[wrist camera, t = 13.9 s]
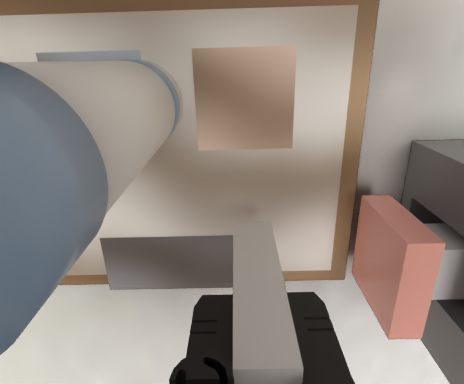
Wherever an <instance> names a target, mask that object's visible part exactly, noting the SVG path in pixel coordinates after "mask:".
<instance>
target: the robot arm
mask: <svg viewBox="0 0 464 384" xmlns="http://www.w3.org/2000/svg"><path fill="white" fill-rule="evenodd" d="M169 383H170V384H355V383H354V381H353V379H352V377H351V374H350V372H349V369H348V366H347V363H346V361H345V358H344V355H343V352H342V350H341V347H340V344H339V342H338V339H337V336H336V333H335V331H334V328H333V325H332V322H331V320H330V318H329V314H328V311H327V309H326V306H325V303H324V302H323V301H322V300H321V299H320V298H319V297H318V296H317V295H316V294H315V293H314V292H291V293H287V292H286V287H285V283H284V278H283V274H282V269H281V265H280V260H279V256H278V251H277V247H276V243H275V238H274V234H273V229H272V225H271V222H261V223H233V295H202V297H201V298H200V299H199V301H198V302H197V304H196V305H195V306H194V311H193V317H192V323H191V330H190V336H189V342H188V349H187V355H186V358H185V359H183V360H181V361H180V363H179V364H178V365H177V366H176V367H175V368H174V369H173V372H172V374H171V376H170V379H169Z"/></svg>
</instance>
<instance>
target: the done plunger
mask: <svg viewBox="0 0 464 384" xmlns="http://www.w3.org/2000/svg"><path fill="white" fill-rule="evenodd" d="M352 275H353V276H354V278H355V280H356V282H357V284H358V285H359V287H360V289H361V291H362V293H363V294H364V296H365V298H366V300H367V302H368V303H369V305H370V307H371V309H372V311H373V312H374V314H375V316H376V318H377V320H378V322H379V323H380V325H381V327H382V329H383V331H384V332H385V334H386V336H387V338H388V339H422V335H423V331H424V328H425V324H426V320H427V316H428V312H429V308H430V304H431V300H448V299H464V237H463V236H462V235H460V234H459V233H458V232H456V231H455V230H454V229H453V228H451V227H450V226H449V225H447V224H446V223H432V224H423V223H422V222H421V221H420V220H418V219H417V218H416V217H415V216H414V215H413V214H412V213H410V212H409V211H408V210H407V209H406V208H405V207H403V206H402V205H401V204H400V203H399V202H398V201H397V200H395V199H394V198H393V197H392V196H391V195H362V198H361V206H360V213H359V221H358V228H357V236H356V243H355V251H354V258H353V266H352Z"/></svg>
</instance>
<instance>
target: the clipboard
mask: <svg viewBox="0 0 464 384" xmlns="http://www.w3.org/2000/svg"><path fill="white" fill-rule="evenodd" d="M378 8H379V0H0V62H55V61H116V60H142V61H149V62H152V63H155V64H157V65H159V66H161V67H162V68H164V69H165V70H166V71H167V72H169V73H170V74H171V76H172V77H173V78H174V79H175V81H176V82H177V84H178V86H179V88H180V91H181V94H182V99H183V112H182V116H181V119H180V122H179V123H178V125H177V127H176V128H175V129H174V131H173V133H172V134H171V135H170V136H169V138H168V139H167V140H166V141H165V142H164V143H163V144H162V145H161V147H160V148H159V149H158V150H157V152H156V153H155V154H154V155H153V157H152V158H151V159H150V160H149V162H148V163H147V164H146V165H145V166H144V168H143V169H142V170H141V171H140V173H139V174H138V175H137V176H136V178H135V179H134V180H133V181H132V182H131V184H130V185H129V186H128V187H127V189H126V190H125V191H124V192H123V194H122V195H121V196H120V197H119V199H118V200H117V201H116V202H115V203H114V205H113V206H112V207H111V208H110V210H109V211H108V212H107V213H106V215H105V217H104V220H103V223H102V226H101V228H100V229H99V231H98V233H97V235H96V236H95V238H94V239H93V240H92V242H91V243H90V244H89V246H88V247H87V248H86V249H85V251H84V252H83V253H82V255H81V256H80V257H79V259H78V260H77V261H76V263H75V264H74V265H73V266H72V268H71V269H70V270H69V272H68V273H67V274H66V276H65V277H64V278H63V279H62V281H61V282H60V283H59V285H87V284H109V287H110V290H123V289H177V288H230V287H233V223H261V222H271V225H272V229H273V234H274V238H275V243H276V247H277V251H278V256H279V260H280V265H281V269H282V274H283V278H284V281H298V280H344V279H345V271H346V263H347V255H348V247H349V239H350V231H351V223H352V215H353V207H354V199H355V191H356V183H357V175H358V167H359V159H360V151H361V144H362V136H363V128H364V120H365V112H366V104H367V96H368V88H369V80H370V72H371V64H372V56H373V48H374V40H375V32H376V24H377V16H378Z"/></svg>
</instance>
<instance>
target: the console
mask: <svg viewBox="0 0 464 384" xmlns="http://www.w3.org/2000/svg"><path fill="white" fill-rule="evenodd" d="M401 205H402V206H403V207H405V208H406V209H407V210H408V211H409V212H410V213H412V214H413V215H414V216H415V217H416V218H417V219H418V220H420V221H421V222H422V223H423V224H432V223H446V224H447V225H449V226H450V227H451V228H453V229H454V230H455V231H456V232H458V233H459V234H460V235H462V236H463V237H464V139H462V140H421V141H413V142H412V147H411V153H410V158H409V163H408V169H407V174H406V180H405V185H404V190H403V196H402V201H401ZM421 341H422V342H423V344H424V345H425V347H426V348H427V350H428V351H429V353H430V354H431V356H432V357H433V359H434V360H435V362H436V363H437V365H438V366H439V368H440V369H441V371H442V372H443V374H444V375H445V377H446V378H447V380H448V381H449V383H450V384H464V299H448V300H431V304H430V308H429V312H428V316H427V320H426V324H425V328H424V331H423V335H422V339H421Z"/></svg>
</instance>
